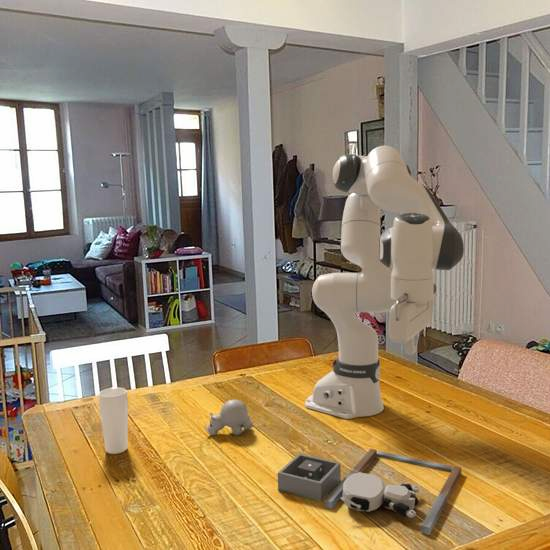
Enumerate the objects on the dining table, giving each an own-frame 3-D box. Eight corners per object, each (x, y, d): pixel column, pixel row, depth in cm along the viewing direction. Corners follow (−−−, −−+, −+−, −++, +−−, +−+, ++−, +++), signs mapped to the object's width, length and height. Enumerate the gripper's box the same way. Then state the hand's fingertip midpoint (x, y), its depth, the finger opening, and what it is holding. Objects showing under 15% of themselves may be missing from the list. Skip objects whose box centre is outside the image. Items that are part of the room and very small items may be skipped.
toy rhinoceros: (211, 438, 159) (198, 411, 158) (252, 418, 161) (239, 391, 159) (213, 449, 152) (199, 421, 151) (256, 428, 154) (242, 400, 152)
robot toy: (419, 499, 124) (347, 485, 128) (421, 479, 123) (348, 465, 127) (415, 532, 112) (336, 515, 116) (417, 510, 111) (337, 494, 116)
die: (297, 484, 128) (297, 467, 127) (306, 476, 131) (306, 459, 130) (314, 489, 126) (314, 471, 125) (322, 481, 129) (322, 463, 128)
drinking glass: (136, 446, 150) (132, 388, 147) (120, 457, 143) (116, 398, 141) (112, 442, 152) (108, 386, 150) (96, 454, 146) (92, 395, 143)
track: (324, 507, 120) (324, 500, 119) (372, 452, 143) (372, 446, 143) (429, 535, 109) (429, 527, 109) (462, 471, 133) (462, 464, 133)
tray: (278, 490, 127) (277, 472, 126) (299, 470, 135) (299, 453, 134) (321, 501, 122) (320, 483, 121) (340, 480, 130) (340, 462, 130)
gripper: (412, 300, 117) (411, 368, 119) (438, 283, 135) (437, 343, 137) (381, 297, 120) (380, 364, 122) (411, 282, 138) (410, 340, 140)
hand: (411, 353), depth 130 cm, fingers closed
